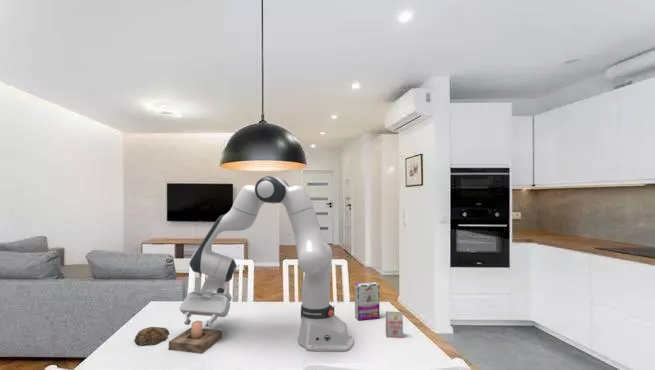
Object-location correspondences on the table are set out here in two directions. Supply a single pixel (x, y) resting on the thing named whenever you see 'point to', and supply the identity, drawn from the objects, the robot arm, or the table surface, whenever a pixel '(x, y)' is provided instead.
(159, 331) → the bread roll
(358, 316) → the candy bar box
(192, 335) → the pin
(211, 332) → the pin board
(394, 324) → the white red box
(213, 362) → the table surface
